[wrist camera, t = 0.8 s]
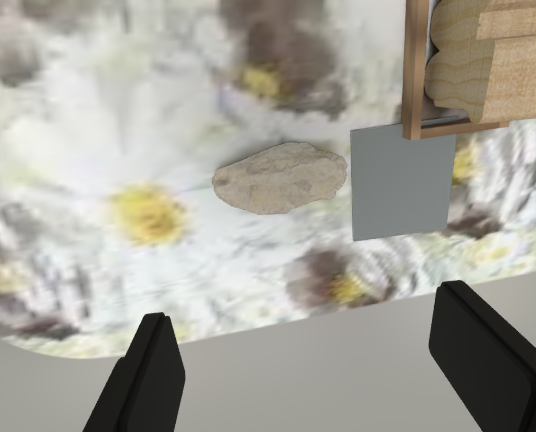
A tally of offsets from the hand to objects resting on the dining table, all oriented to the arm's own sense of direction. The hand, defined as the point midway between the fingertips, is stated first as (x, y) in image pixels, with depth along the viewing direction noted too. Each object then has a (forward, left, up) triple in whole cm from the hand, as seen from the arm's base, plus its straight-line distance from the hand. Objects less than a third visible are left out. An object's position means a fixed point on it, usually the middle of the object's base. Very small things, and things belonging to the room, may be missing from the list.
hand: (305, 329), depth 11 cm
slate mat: (+5, +16, -27) cm, 31 cm away
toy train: (-11, +21, -27) cm, 36 cm away
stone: (+2, +1, -27) cm, 27 cm away
